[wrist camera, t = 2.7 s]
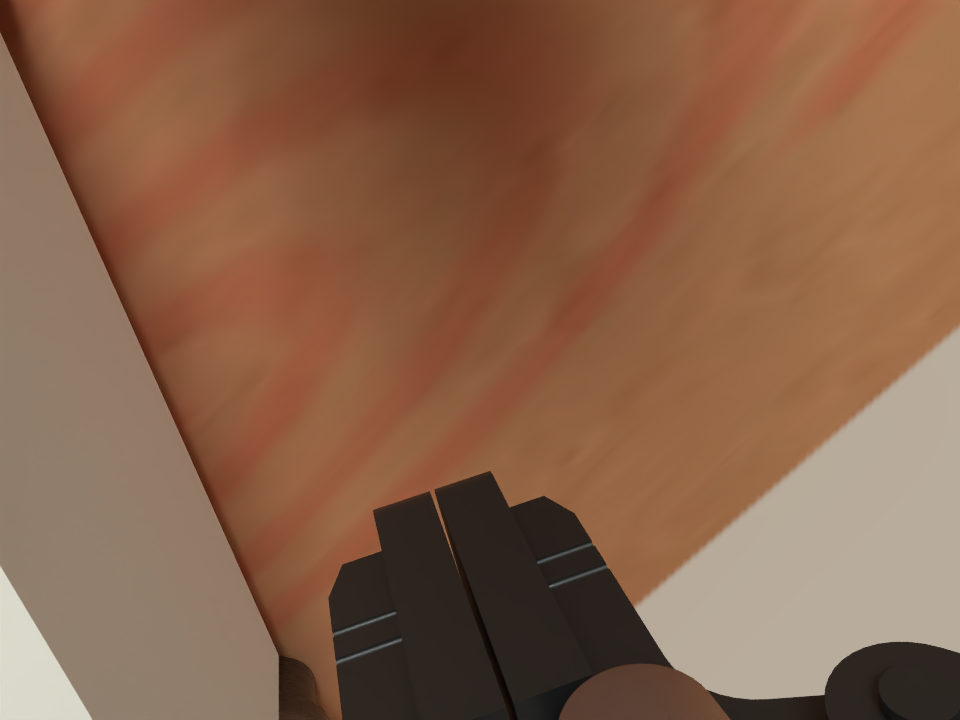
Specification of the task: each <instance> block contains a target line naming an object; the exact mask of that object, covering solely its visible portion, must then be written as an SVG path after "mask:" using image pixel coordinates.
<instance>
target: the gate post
mask: <svg viewBox="0 0 960 720" xmlns="http://www.w3.org/2000/svg"><path fill="white" fill-rule="evenodd" d="M279 720H330V719H329V717H328V716H327V714H326V713H325V711H324V710H323V709H322V708H321V707H320V706H318V705H317V703H316V686H315V678H314V675H313V673H312V671H311V670H310V669H309V668H308V667H307V666H306V665H305V664H303V663H302V662H300V661H298V660H295V659H292V658H286V657H279Z"/></svg>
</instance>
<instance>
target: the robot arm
mask: <svg viewBox="0 0 960 720" xmlns="http://www.w3.org/2000/svg"><path fill="white" fill-rule="evenodd" d="M435 494H436V498H437V501H438V505H439V508H440V511H441V515H442V518H443V521H444V525H445V528H446V531H447V535H448V538H449V541H450V545H451V548H452V551H453V555H454V558H455V561H456V564H455V561H454V558H453V555H452V553H451V550H450V547H449V544H448V541H447V539H446V536H445V533H444V530H443V527H442V524H441V522H440V519H439V516H438V513H437V510H436V508H435V505H434V502H433V499H432V496H431V494H430V491H429V492H426V493H423V494H420V495H417V496H414V497H411V498H408V499H405V500H402V501H399V502H396V503H393V504H390V505H387V506H384V507H381V508H378V509H375V510H373V513H374V518H375V522H376V526H377V531H378V535H379V540H380V544H381V549H382V551H381V552H378V553H375V554H372V555H369V556H366V557H363V558H360V559H357V560H355V561H352V562H349V563H346V564H343V565H342V567H341V569H340V572H339V574H338V577H337V579H336V581H335V584H334V586H333V589H332V591H331V593H330V596H329V607H330V616H331V624H332V632H333V635H334V638H333V641H334V650H335V659H336V662H337V666H336V667H337V676H338V684H339V693H340V702H341V710H342V719H343V720H960V653H958V652H954V651H951V650H947V649H944V648H940V647H936V646H931V645H927V644H921V643H913V642H889V643H881V644H876V645H872V646H869V647H865V648H863V649H860V650H858V651H856V652H854V653H852V654H850V655H849V656H847V657H846V658H844V659H843V660H842V661H841V662H840V663H839V664H838V665H837V666H836V667H835V668H834V670H833V671H832V673H831V675H830V676H829V678H828V681H827V685H826V687H825V695H820V696H806V697H793V698H779V699H763V700H762V699H759V700H750V699H740V698H733V697H729V696H724V695H720V694H717V693H714V692H711V691H708V690H706V689H705V688H704V687H703V686H702V685H701V684H700V683H698V682H697V681H696V680H694V679H693V678H692V677H690V676H688V675H686V674H684V673H682V672H680V671H678V670H675V669H674V668H673V667H672V666H671V664H670V663H669V662H668V661H667V659H666V658H665V656H664V655H663V653H662V652H661V650H660V649H659V647H658V645H657V644H656V642H655V641H654V639H653V637H652V636H651V634H650V633H649V631H648V630H647V628H646V626H645V625H644V623H643V621H642V620H641V618H640V617H639V615H638V614H637V612H636V610H635V609H634V607H633V606H632V604H631V602H630V601H629V599H628V598H627V596H626V594H625V593H624V591H623V590H622V588H621V587H620V585H619V583H618V582H617V580H616V579H615V577H614V575H613V574H612V572H611V571H610V569H608V568H607V566H606V563H605V561H604V560H603V558H602V556H601V555H600V553H599V552H598V550H597V548H596V547H595V546H593V544H592V541H591V539H590V537H589V536H588V534H587V533H586V531H585V529H584V528H583V526H582V525H581V523H580V521H579V520H578V518H577V517H576V515H575V513H573V512H571V511H569V510H568V509H566V508H564V507H562V506H561V505H559V504H557V503H555V502H554V501H552V500H550V499H548V498H547V497H545V496H542V497H539V498H536V499H533V500H530V501H528V502H525V503H522V504H519V505H516V506H513V507H510V508H509V506H508V504H507V502H506V500H505V498H504V496H503V494H502V492H501V490H500V488H499V486H498V484H497V482H496V480H495V478H494V476H493V475H492V473H491V472H490V471H489V472H486V473H483V474H480V475H477V476H474V477H471V478H468V479H465V480H462V481H459V482H456V483H453V484H449V485H446V486H443V487H440V488H437V489H435ZM456 565H457V567H456ZM457 568H458V570H457ZM458 571H459V572H458Z"/></svg>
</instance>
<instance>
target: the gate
mask: <svg viewBox="0 0 960 720" xmlns="http://www.w3.org/2000/svg"><path fill="white" fill-rule="evenodd" d="M0 720H279V655H278V653H277V651H276V648H275V646H274V644H273V642H272V639H271V637H270V635H269V633H268V630H267V628H266V626H265V624H264V621H263V619H262V617H261V615H260V612H259V610H258V608H257V606H256V604H255V601H254V599H253V597H252V595H251V592H250V590H249V588H248V586H247V583H246V581H245V579H244V577H243V574H242V572H241V570H240V568H239V565H238V563H237V561H236V559H235V557H234V554H233V552H232V550H231V548H230V545H229V543H228V541H227V539H226V536H225V534H224V532H223V530H222V527H221V525H220V523H219V521H218V518H217V516H216V514H215V512H214V510H213V507H212V505H211V503H210V501H209V498H208V496H207V494H206V492H205V489H204V487H203V485H202V483H201V480H200V478H199V476H198V474H197V471H196V469H195V467H194V465H193V463H192V460H191V458H190V456H189V454H188V451H187V449H186V447H185V445H184V442H183V440H182V438H181V436H180V433H179V431H178V429H177V427H176V424H175V422H174V420H173V418H172V416H171V413H170V411H169V409H168V407H167V404H166V402H165V400H164V398H163V395H162V393H161V391H160V389H159V386H158V384H157V382H156V380H155V377H154V375H153V373H152V371H151V369H150V366H149V364H148V362H147V360H146V357H145V355H144V353H143V351H142V348H141V346H140V344H139V342H138V339H137V337H136V335H135V333H134V330H133V328H132V326H131V324H130V322H129V319H128V317H127V315H126V313H125V310H124V308H123V306H122V304H121V301H120V299H119V297H118V295H117V292H116V290H115V288H114V286H113V284H112V281H111V279H110V277H109V275H108V272H107V270H106V268H105V266H104V263H103V261H102V259H101V257H100V254H99V252H98V250H97V248H96V245H95V243H94V241H93V239H92V237H91V234H90V232H89V230H88V228H87V225H86V223H85V221H84V219H83V216H82V214H81V212H80V210H79V207H78V205H77V203H76V201H75V198H74V196H73V194H72V192H71V190H70V187H69V185H68V183H67V181H66V178H65V176H64V174H63V172H62V169H61V167H60V165H59V163H58V160H57V158H56V156H55V154H54V151H53V149H52V147H51V145H50V143H49V140H48V138H47V136H46V134H45V131H44V129H43V127H42V125H41V122H40V120H39V118H38V116H37V113H36V111H35V109H34V107H33V104H32V102H31V100H30V98H29V96H28V93H27V91H26V89H25V87H24V84H23V82H22V80H21V78H20V75H19V73H18V71H17V69H16V66H15V64H14V62H13V60H12V57H11V55H10V53H9V51H8V49H7V46H6V44H5V42H4V40H3V37H2V35H1V33H0Z"/></svg>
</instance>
